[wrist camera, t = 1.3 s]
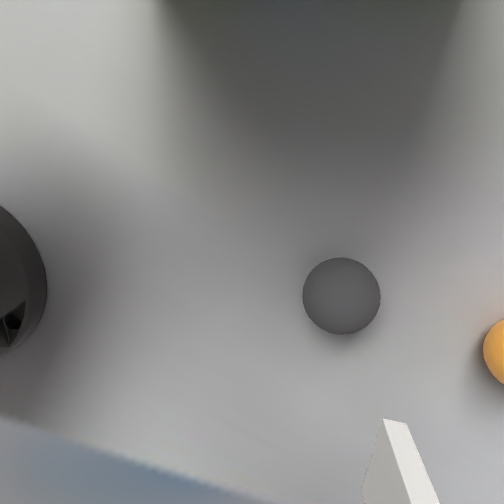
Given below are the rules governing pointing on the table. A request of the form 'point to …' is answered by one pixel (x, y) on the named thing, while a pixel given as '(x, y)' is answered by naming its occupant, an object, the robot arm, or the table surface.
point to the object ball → (495, 350)
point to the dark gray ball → (341, 296)
